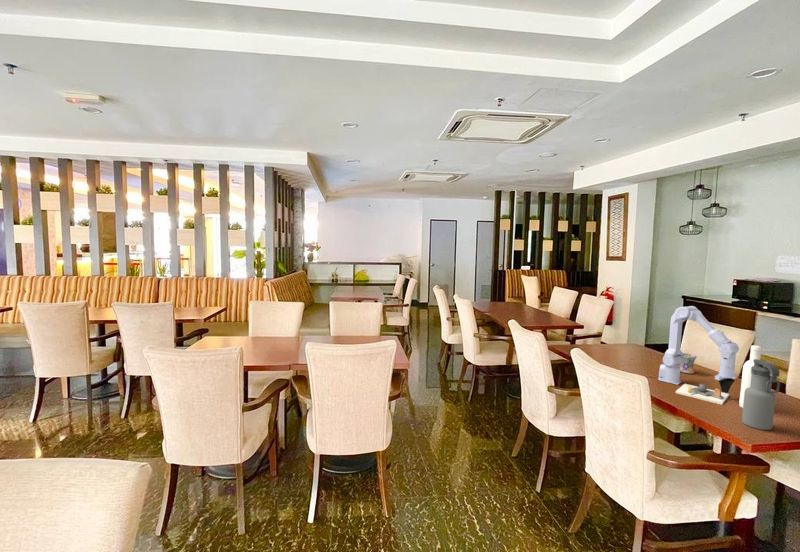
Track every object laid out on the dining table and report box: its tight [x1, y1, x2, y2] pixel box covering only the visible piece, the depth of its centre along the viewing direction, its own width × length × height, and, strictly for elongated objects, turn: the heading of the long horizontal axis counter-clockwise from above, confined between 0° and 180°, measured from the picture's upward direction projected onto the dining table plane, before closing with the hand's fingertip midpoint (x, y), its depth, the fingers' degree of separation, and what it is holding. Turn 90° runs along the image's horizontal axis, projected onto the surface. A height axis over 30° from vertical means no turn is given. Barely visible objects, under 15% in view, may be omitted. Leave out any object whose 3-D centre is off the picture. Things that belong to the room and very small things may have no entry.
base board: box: [675, 383, 730, 406], centre depth 204 cm, size 19×18×5 cm
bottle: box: [738, 344, 765, 409], centre depth 187 cm, size 8×8×30 cm
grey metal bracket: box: [692, 386, 724, 399], centre depth 202 cm, size 13×8×4 cm, turn 22°
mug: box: [680, 352, 698, 375], centre depth 242 cm, size 12×9×11 cm
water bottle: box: [741, 359, 781, 431], centre depth 168 cm, size 10×10×28 cm
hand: (724, 392), depth 200 cm, fingers closed
